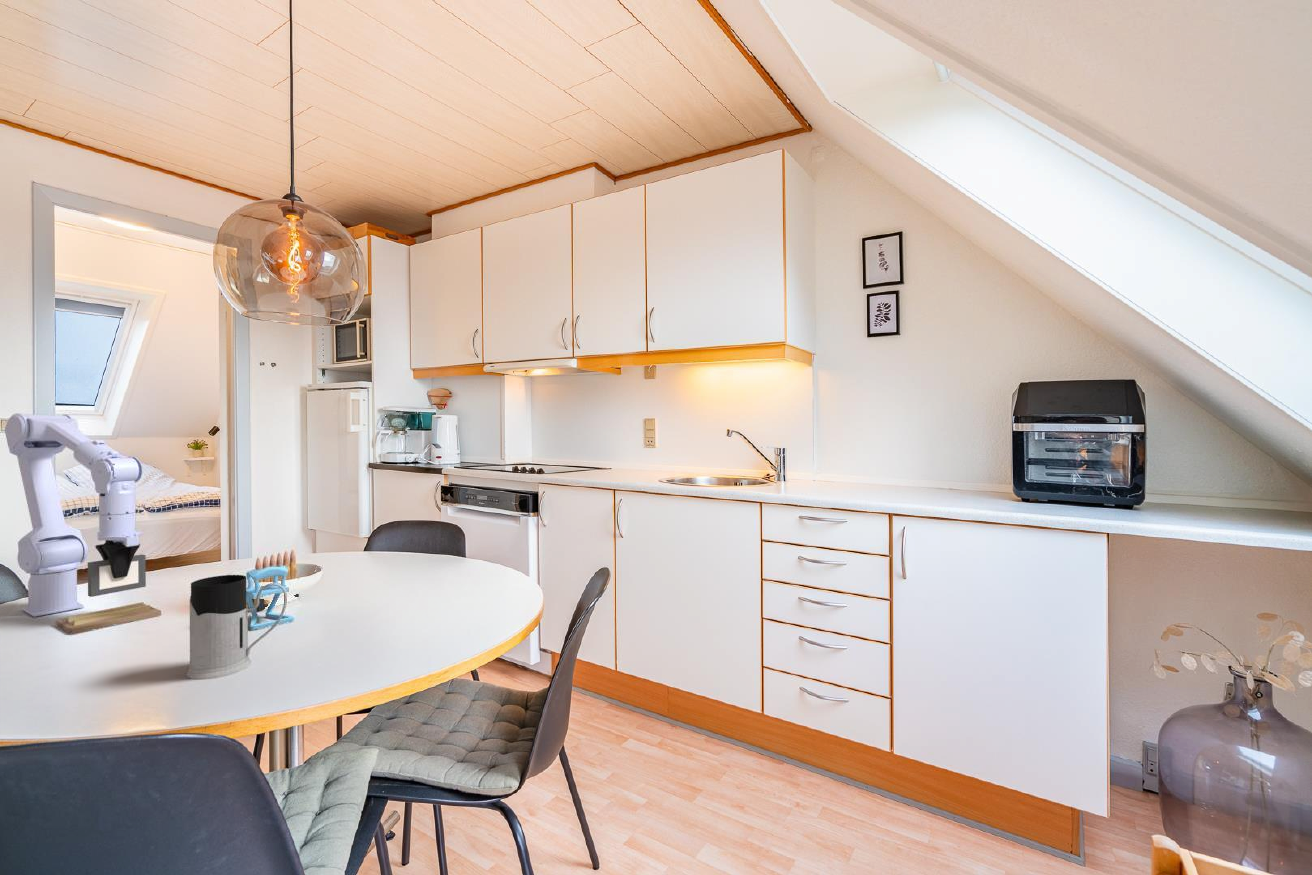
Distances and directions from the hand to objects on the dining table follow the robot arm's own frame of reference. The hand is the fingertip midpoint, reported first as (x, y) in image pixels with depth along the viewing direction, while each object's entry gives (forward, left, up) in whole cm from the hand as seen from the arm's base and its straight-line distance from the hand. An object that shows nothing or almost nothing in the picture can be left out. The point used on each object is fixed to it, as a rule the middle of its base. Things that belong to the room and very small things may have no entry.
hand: (117, 576), depth 123 cm
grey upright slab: (0, 0, -3) cm, 3 cm away
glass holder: (+51, +1, -9) cm, 52 cm away
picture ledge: (+1, -2, -9) cm, 9 cm away
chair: (+30, +15, -9) cm, 35 cm away
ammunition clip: (+19, +22, -9) cm, 31 cm away
